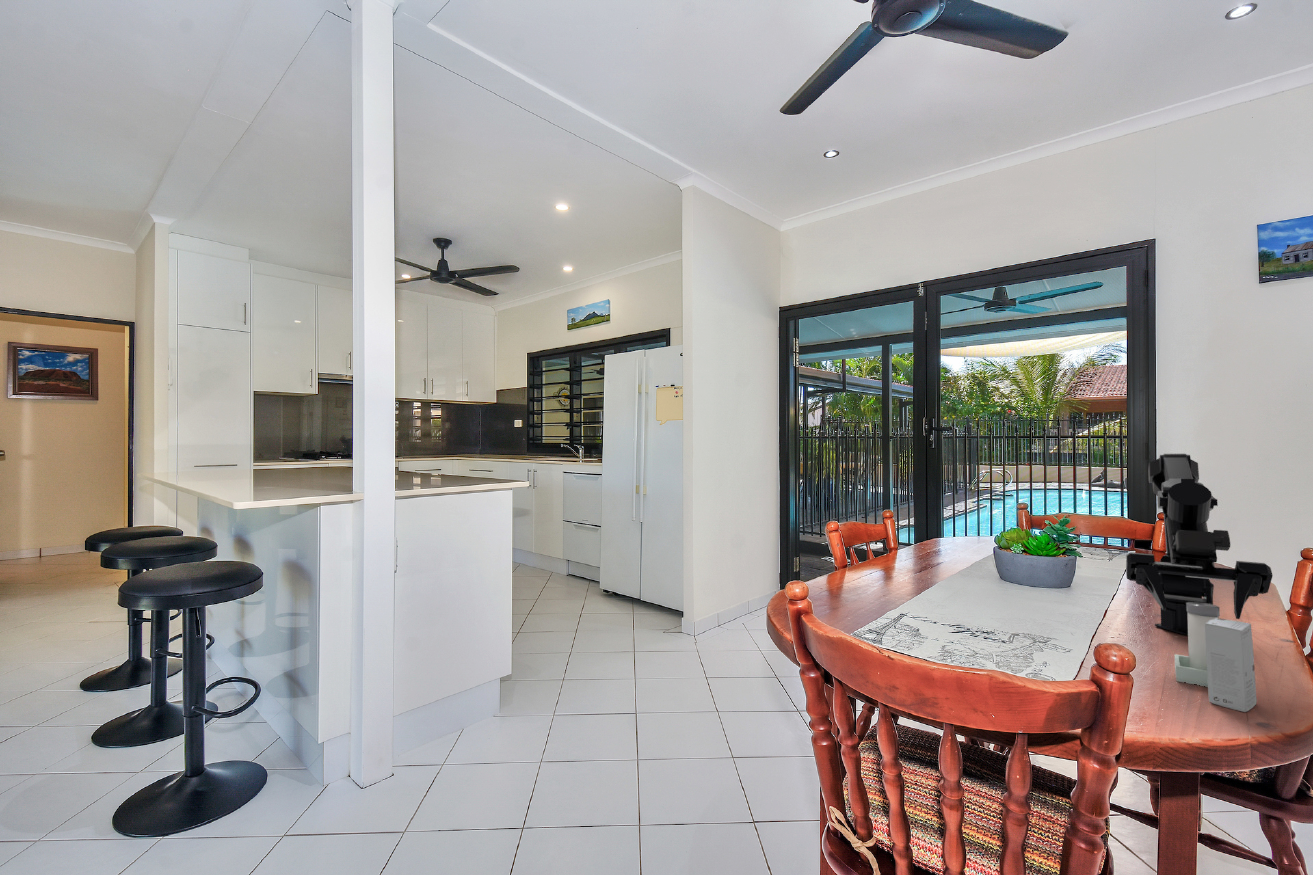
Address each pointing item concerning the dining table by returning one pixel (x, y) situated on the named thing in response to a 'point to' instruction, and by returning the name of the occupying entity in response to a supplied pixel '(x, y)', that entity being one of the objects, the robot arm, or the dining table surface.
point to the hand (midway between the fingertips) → (1200, 613)
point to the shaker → (1199, 632)
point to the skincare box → (1230, 664)
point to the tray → (1189, 672)
